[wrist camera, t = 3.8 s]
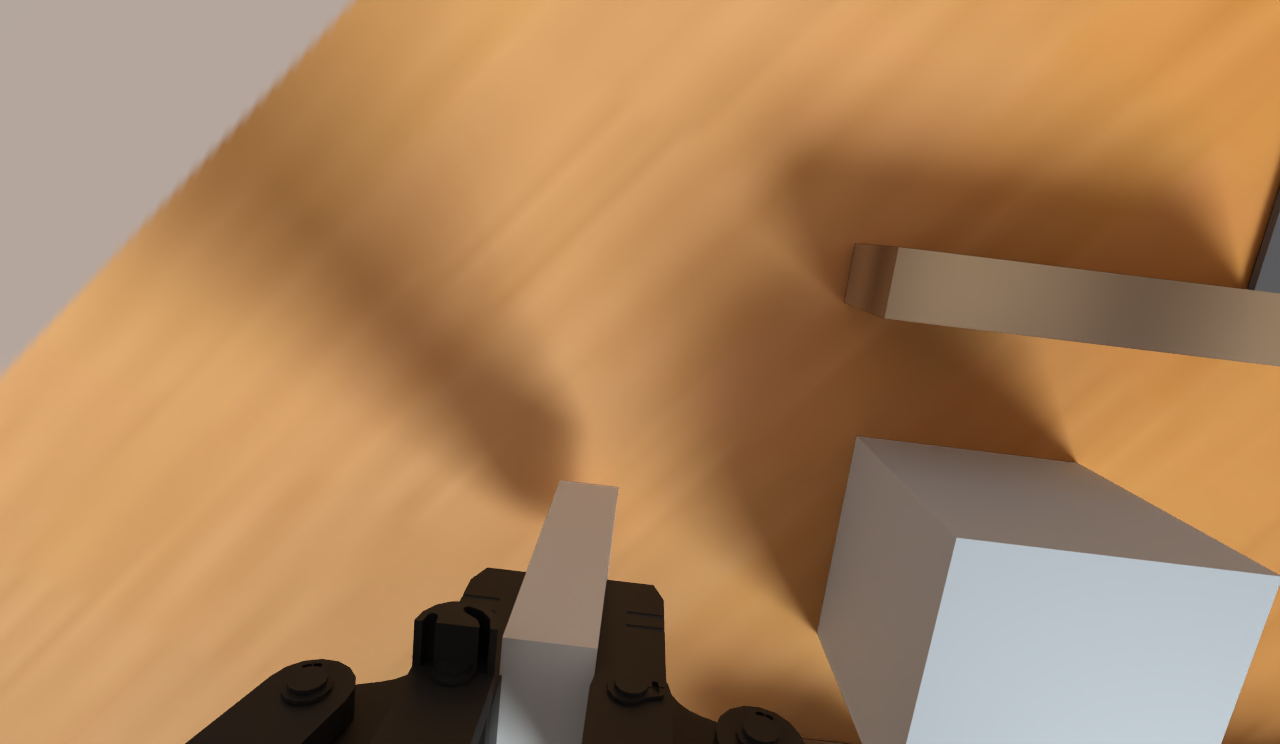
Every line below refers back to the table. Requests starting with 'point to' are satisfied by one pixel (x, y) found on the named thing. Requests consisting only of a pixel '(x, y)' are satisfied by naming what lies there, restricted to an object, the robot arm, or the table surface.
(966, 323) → the lane
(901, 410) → the table surface
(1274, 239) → the mat
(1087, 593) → the block
